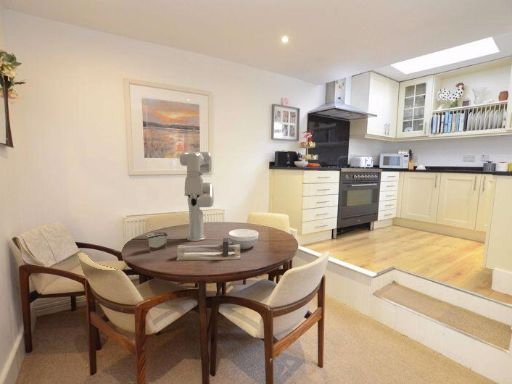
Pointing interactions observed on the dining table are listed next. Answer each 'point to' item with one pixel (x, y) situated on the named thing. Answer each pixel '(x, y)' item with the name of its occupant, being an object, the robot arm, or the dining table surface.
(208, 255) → the pipe rig
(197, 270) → the dining table surface
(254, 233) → the bowl
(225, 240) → the collar
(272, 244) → the dining table surface
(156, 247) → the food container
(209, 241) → the dining table surface
